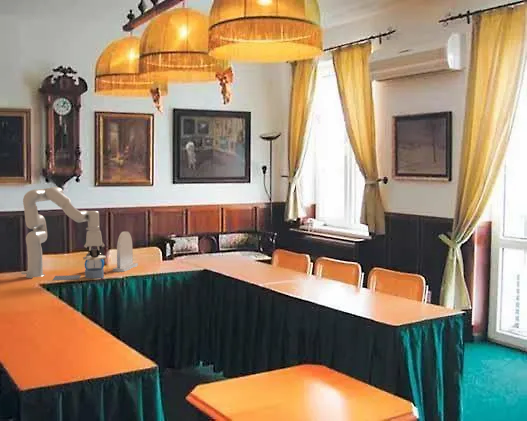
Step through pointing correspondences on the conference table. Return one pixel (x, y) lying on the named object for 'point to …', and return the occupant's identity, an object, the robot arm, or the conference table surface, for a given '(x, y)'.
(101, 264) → the alarm clock
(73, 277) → the mat
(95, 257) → the lid
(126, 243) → the award
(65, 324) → the conference table surface
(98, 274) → the gray square block
